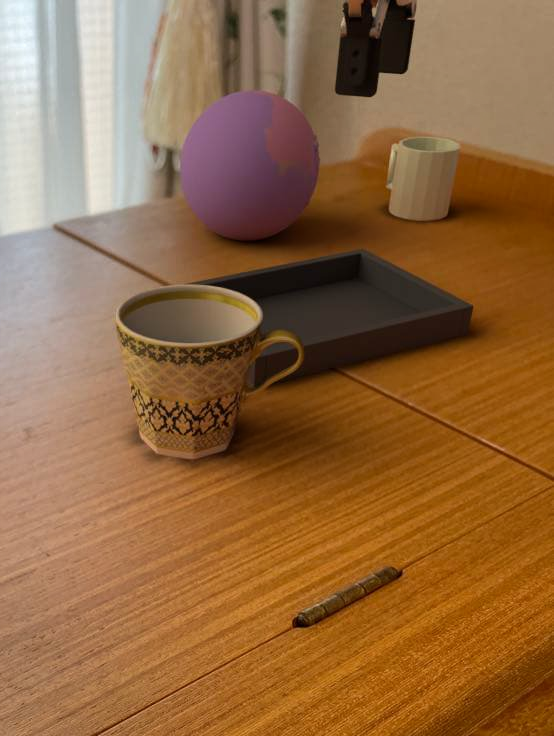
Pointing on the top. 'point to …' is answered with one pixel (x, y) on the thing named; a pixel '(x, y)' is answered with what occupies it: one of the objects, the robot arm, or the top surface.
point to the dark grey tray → (344, 311)
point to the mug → (422, 177)
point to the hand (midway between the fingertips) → (372, 83)
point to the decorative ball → (249, 165)
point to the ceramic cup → (192, 364)
